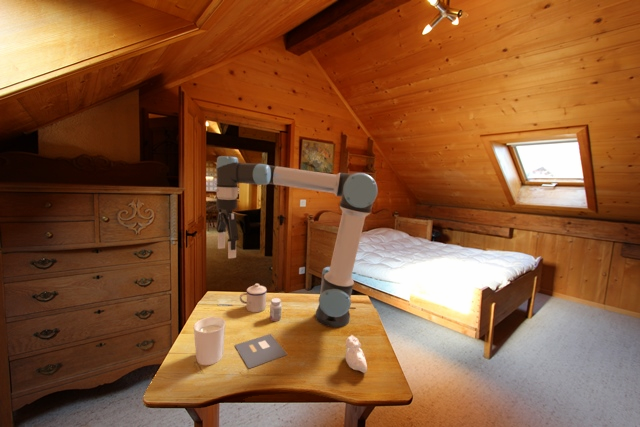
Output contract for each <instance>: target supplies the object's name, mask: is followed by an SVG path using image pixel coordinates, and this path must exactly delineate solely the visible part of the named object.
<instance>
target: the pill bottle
mask: <svg viewBox="0 0 640 427" xmlns="http://www.w3.org/2000/svg"><path fill="white" fill-rule="evenodd" d="M270 301H271V302H270V303H271V304H270V305H269V310H270V311H269V319H270V320H271V321H273V322H277V321H280V320H281V319H282V303H281V302H282V300H281V299H280V298H278V297H275V298H272V299H271V300H270Z"/></svg>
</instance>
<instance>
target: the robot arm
mask: <svg viewBox="0 0 640 427" xmlns="http://www.w3.org/2000/svg"><path fill="white" fill-rule="evenodd" d="M215 169H216V170H215V171H216V189H214V192H215V193H216V205H215V206H216V209H217V210H218V212H217V213H218V214H217V221H216V227H215V229H216V230H217V249H219V250H220V249H226V232H227V235H228V239H227V243H228V244H227V245H228V248H227V252H228V253H227V254H228V255H227V258H228V259H235V258H237V241H239V240H240V238H239V230H238V223H237V214H236V213H235V212H234V213H233V210H237V209H238V199H237V198H238V194H239V190H238V189H239V188H238V187H239V186H238V184H248V185H258V186H261V185H265V186H266V185H276V186H284V187H289V188H295V189H296V188H297V189H303V190H310V191H316V192H324V193H329V194H330V193H331V194H334V195H335V197H340V202H339V208H340V210H341V217H340V222H339V226H338V230H337V234H336V240H335V244H334V247H333V249H334V250H333V253H332V257H331V262H330V266H326V267H324V268H322V273H321V284H320V285H321V286H320V291H319V292H320V293H319V297H318V306H317V308H316V311H315V320H316V321H317V322H318V323H319V324H321V325H322V326H325V327H327V328H328V327H329V328H340V327H341V328H342V327H344V326H347V325H348V324H349V323H350V321H351V318H350V317H351V314H350V308H351V305H352V300H351V297H352V292H353V288H354V284H355V282H354V279H353V278H352V275H353V270H354V265H355V262H356V257H357V253H358V249H359V246H360V242H361V241H360V240H361V238H362V233H363V228H364V224H365V221H366V220H365V219H366V217H367V216H369V215H370V214H371V213H372V209H373V205H374V202H375V200H376V198H378V197H377V196H378V185H377V182H376V180H375V179H374V178H373V177H372V175H369V174H368V173H365V172H354V173H346V172H345V173H344V172H339V173H337V174H332V173H328V172H318V171H311V170H305V169H297V168H292V167H284V166H276V165H269V164H265V163H264V164H263V163H250V162H249V163H248V162H240V161H239V158H238V157H236V156H227V155H225V156H223V155H221V156H220V155H219V156H218V157H217V158H216V167H215Z"/></svg>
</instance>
